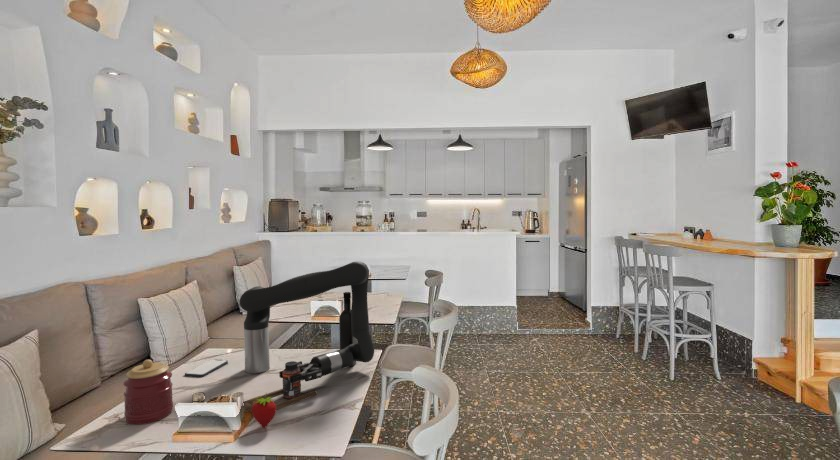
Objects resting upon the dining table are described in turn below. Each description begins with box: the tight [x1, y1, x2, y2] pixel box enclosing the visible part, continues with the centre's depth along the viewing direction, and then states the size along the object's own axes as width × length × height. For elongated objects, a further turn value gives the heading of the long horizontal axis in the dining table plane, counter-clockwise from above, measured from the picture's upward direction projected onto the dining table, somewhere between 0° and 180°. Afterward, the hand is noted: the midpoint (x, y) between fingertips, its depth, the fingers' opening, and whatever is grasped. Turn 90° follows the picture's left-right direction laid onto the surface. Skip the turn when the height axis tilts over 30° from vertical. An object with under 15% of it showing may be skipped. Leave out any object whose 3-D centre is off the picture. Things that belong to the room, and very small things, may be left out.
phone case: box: [184, 358, 229, 378], centre depth 172 cm, size 9×2×16 cm
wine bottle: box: [338, 291, 357, 368], centre depth 175 cm, size 6×6×30 cm
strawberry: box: [250, 394, 278, 428], centre depth 125 cm, size 6×8×10 cm
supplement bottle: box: [282, 360, 302, 399], centre depth 146 cm, size 6×6×11 cm
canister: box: [122, 359, 174, 425], centre depth 133 cm, size 13×13×18 cm
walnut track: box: [242, 388, 317, 412], centre depth 143 cm, size 11×21×1 cm, turn 137°
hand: (285, 377), depth 144 cm, fingers closed on supplement bottle, 6 cm apart
